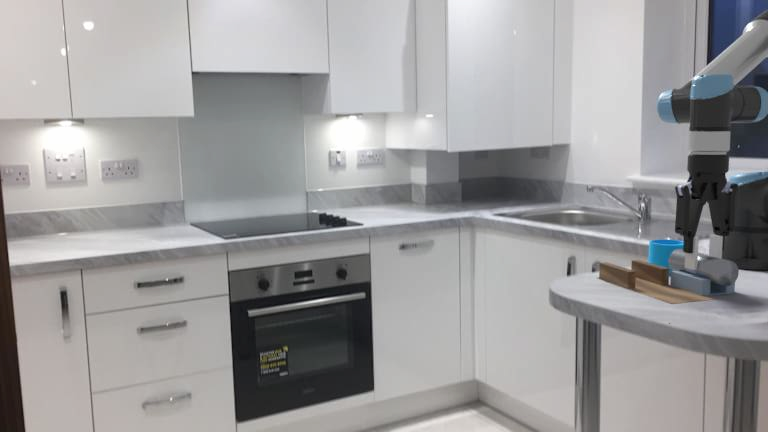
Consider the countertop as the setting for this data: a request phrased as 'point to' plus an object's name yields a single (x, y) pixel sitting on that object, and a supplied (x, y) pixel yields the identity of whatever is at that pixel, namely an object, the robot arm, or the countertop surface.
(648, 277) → the wooden channel tray
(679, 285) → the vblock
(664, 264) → the mug
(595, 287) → the countertop surface
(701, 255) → the axle
